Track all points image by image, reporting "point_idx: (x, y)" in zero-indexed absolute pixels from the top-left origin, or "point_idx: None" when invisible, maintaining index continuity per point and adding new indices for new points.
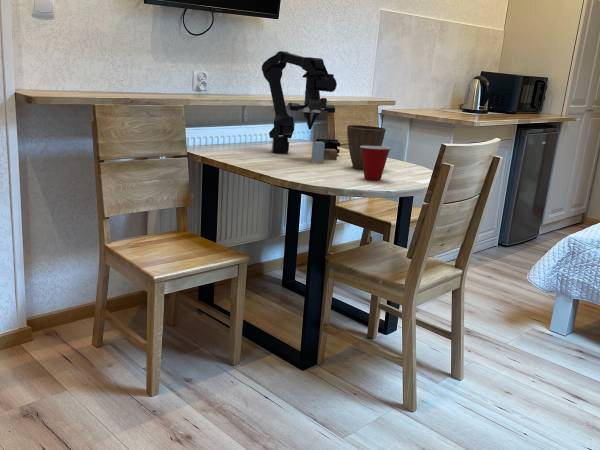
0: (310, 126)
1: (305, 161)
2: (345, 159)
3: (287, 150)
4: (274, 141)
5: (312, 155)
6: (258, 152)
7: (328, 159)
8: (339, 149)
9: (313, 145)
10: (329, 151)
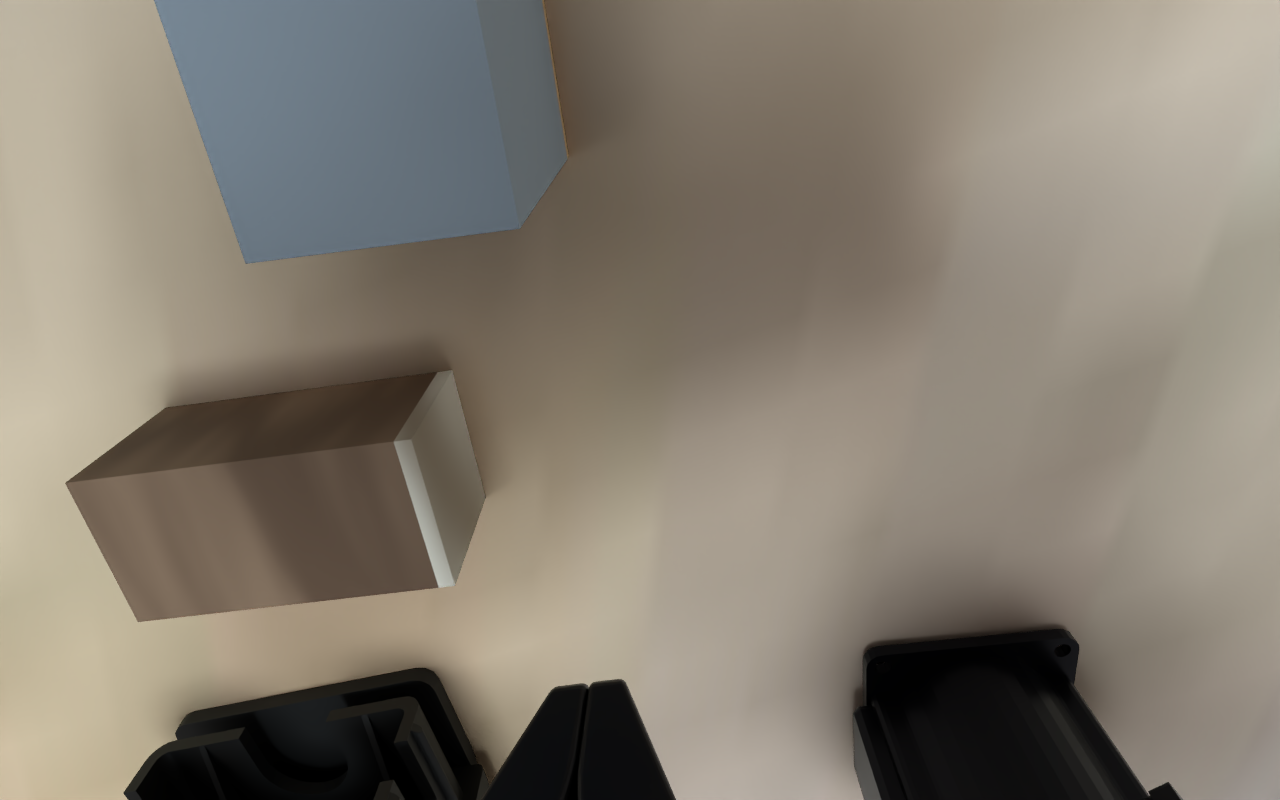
0: (573, 753)
1: (675, 70)
2: (51, 515)
3: (873, 715)
4: (1139, 797)
5: (545, 95)
6: (1270, 621)
7: (287, 393)
8: (126, 792)
9: (510, 85)
10: (220, 452)
